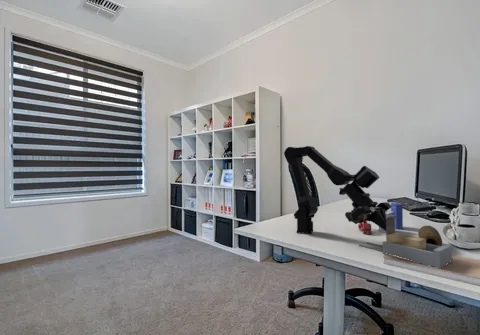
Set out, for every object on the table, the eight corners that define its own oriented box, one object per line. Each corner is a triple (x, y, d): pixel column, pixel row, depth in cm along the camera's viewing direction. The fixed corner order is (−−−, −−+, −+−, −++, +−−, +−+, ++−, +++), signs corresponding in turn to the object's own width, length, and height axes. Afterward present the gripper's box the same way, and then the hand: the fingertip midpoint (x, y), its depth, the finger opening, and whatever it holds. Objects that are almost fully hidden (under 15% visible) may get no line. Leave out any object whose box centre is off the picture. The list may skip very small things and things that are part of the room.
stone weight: (415, 240, 101) (415, 223, 101) (437, 242, 97) (437, 225, 97) (421, 250, 87) (420, 231, 87) (446, 254, 84) (446, 233, 84)
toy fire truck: (364, 234, 109) (363, 212, 109) (356, 227, 122) (355, 207, 122) (372, 235, 108) (372, 212, 108) (363, 227, 122) (363, 207, 122)
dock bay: (356, 246, 92) (356, 232, 92) (370, 242, 98) (370, 229, 98) (439, 268, 71) (439, 251, 71) (452, 261, 77) (451, 245, 77)
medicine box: (389, 233, 110) (389, 213, 110) (378, 231, 114) (378, 212, 114) (395, 230, 115) (395, 211, 115) (384, 229, 119) (384, 210, 119)
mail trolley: (385, 251, 86) (384, 217, 86) (393, 248, 89) (393, 215, 89) (418, 260, 77) (418, 222, 77) (427, 256, 81) (426, 219, 81)
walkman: (402, 229, 117) (402, 203, 117) (396, 229, 118) (396, 203, 118) (395, 225, 125) (395, 201, 125) (389, 225, 126) (389, 201, 126)
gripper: (358, 207, 107) (385, 239, 97) (330, 211, 96) (358, 248, 87) (376, 189, 100) (407, 222, 91) (349, 192, 90) (381, 229, 81)
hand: (388, 230), depth 88 cm, fingers closed, pressing on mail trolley
